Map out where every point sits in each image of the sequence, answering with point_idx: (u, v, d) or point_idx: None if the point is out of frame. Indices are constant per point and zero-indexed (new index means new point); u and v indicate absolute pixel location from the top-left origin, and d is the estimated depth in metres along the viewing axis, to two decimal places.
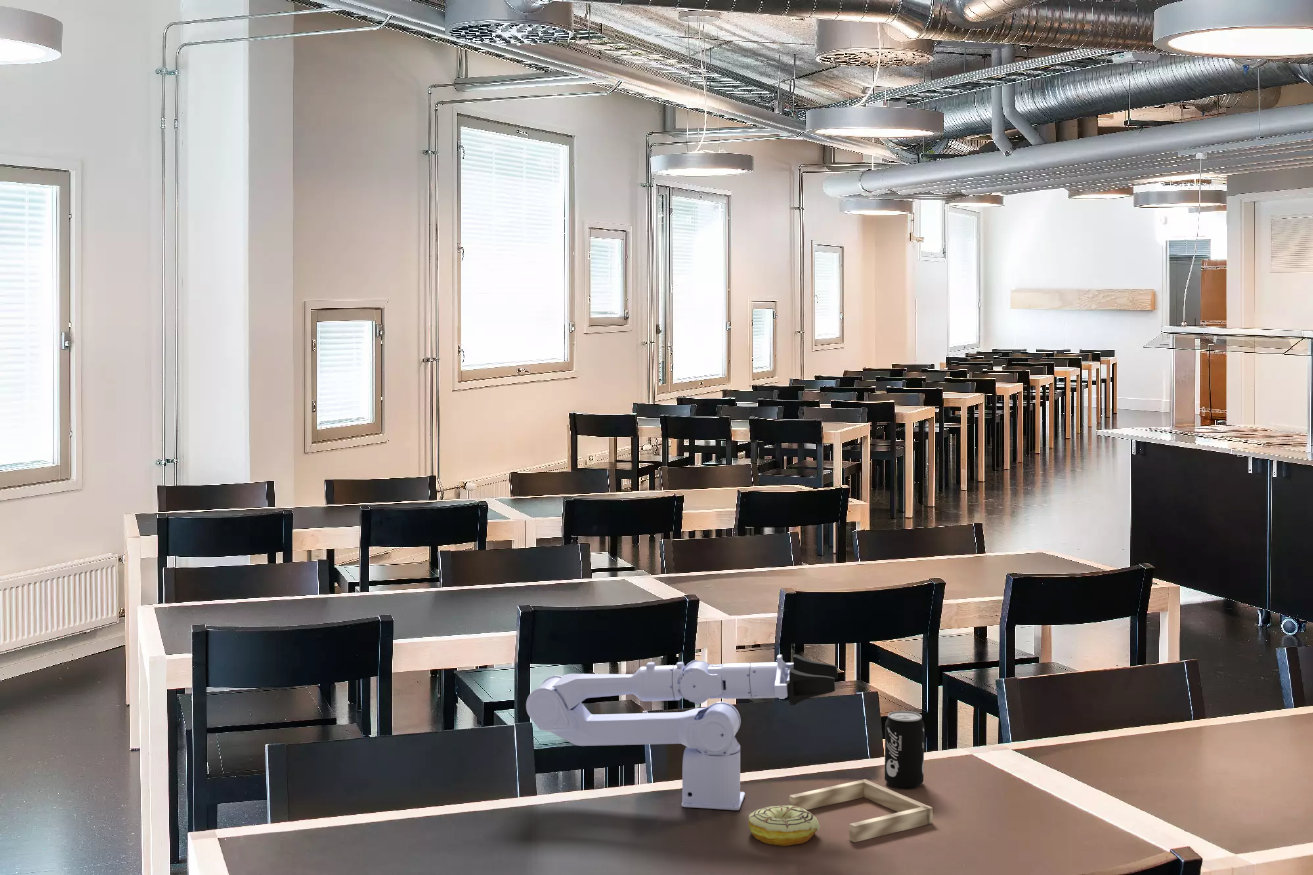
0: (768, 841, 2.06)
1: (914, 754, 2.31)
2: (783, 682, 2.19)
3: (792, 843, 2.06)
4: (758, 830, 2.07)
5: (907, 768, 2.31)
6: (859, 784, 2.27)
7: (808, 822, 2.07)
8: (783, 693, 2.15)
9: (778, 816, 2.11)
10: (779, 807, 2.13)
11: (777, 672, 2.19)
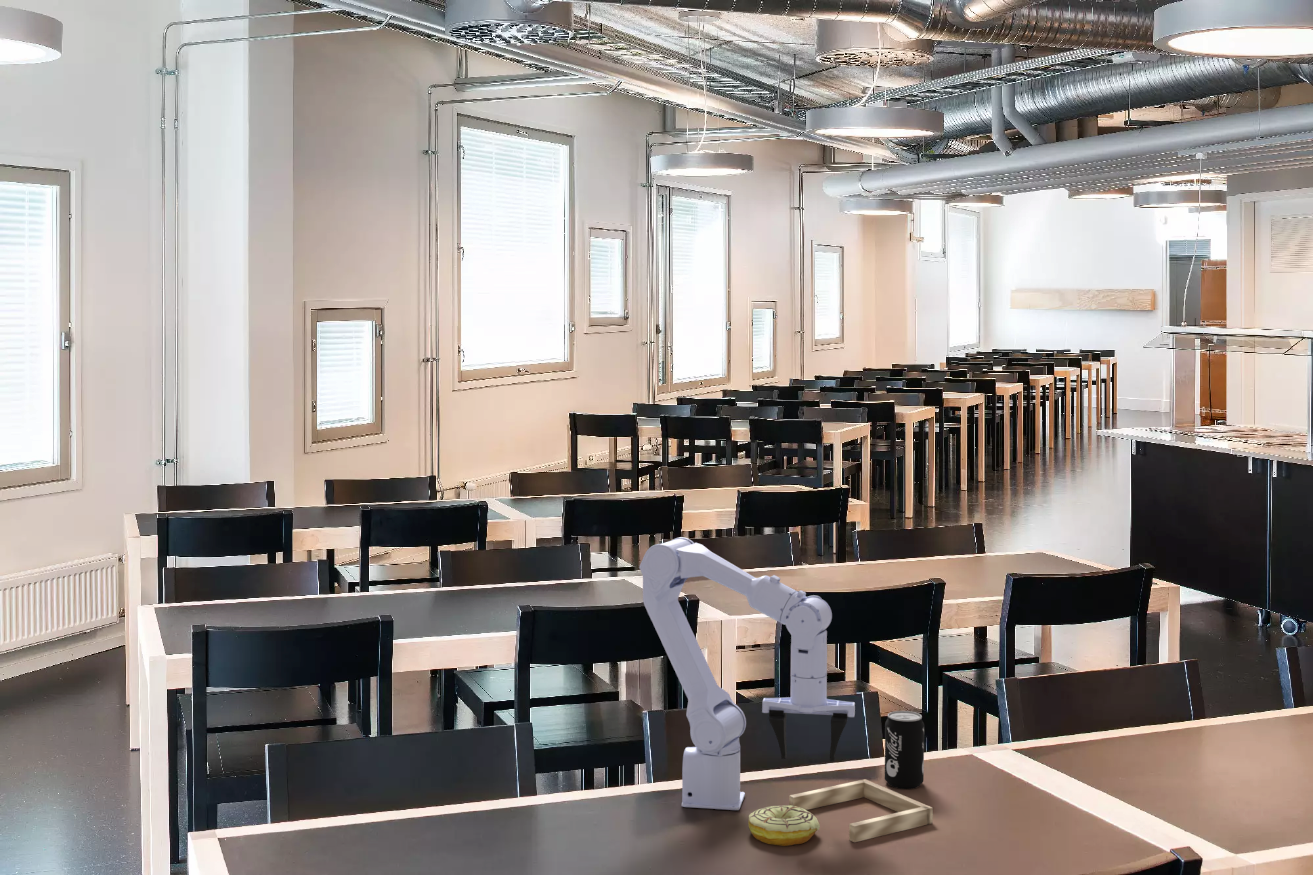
0: (768, 841, 2.06)
1: (914, 754, 2.31)
2: None
3: (792, 843, 2.06)
4: (758, 830, 2.07)
5: (907, 768, 2.31)
6: (859, 784, 2.27)
7: (808, 822, 2.07)
8: None
9: (778, 816, 2.11)
10: (779, 807, 2.13)
11: (786, 705, 2.16)
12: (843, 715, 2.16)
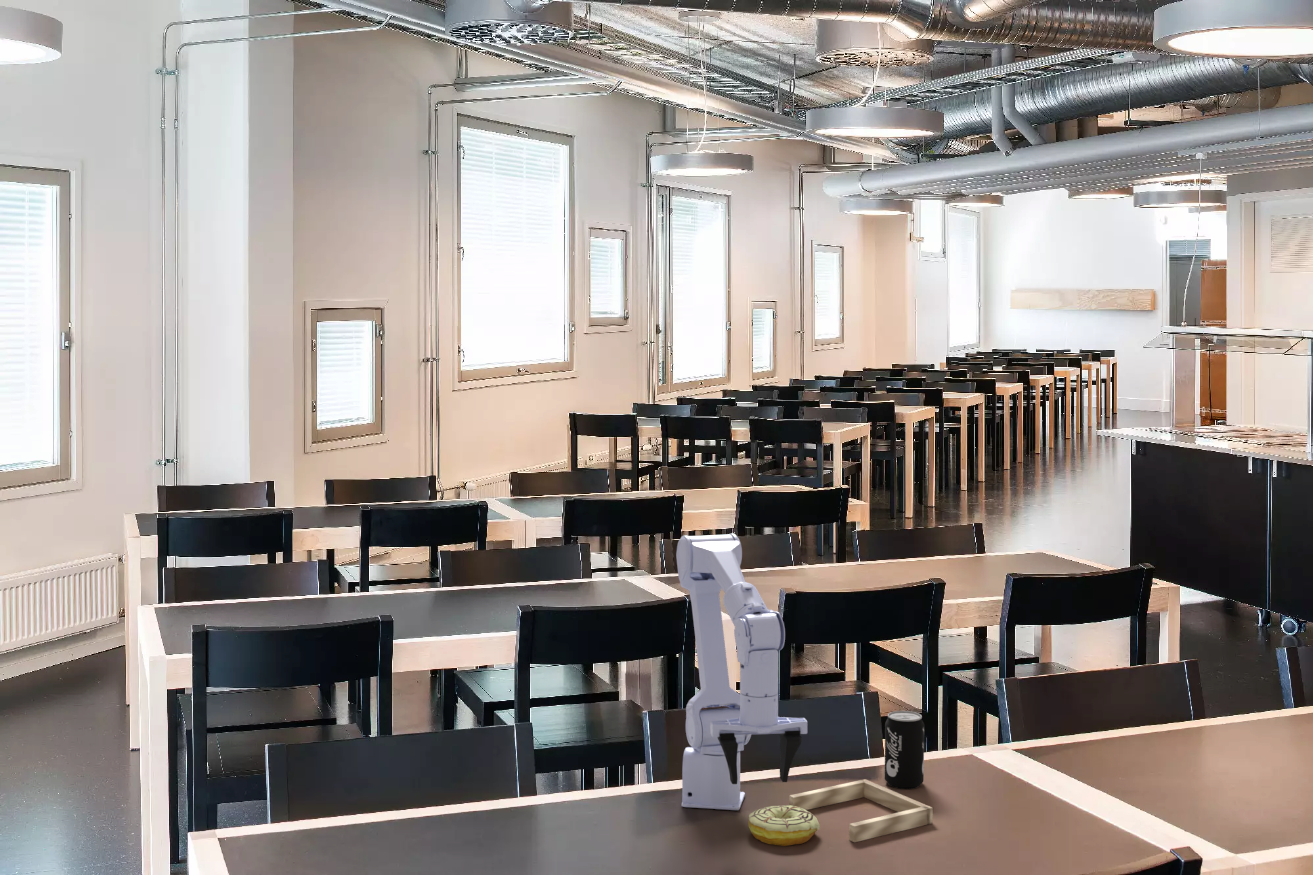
0: (768, 841, 2.06)
1: (914, 754, 2.31)
2: None
3: (792, 843, 2.06)
4: (758, 830, 2.07)
5: (907, 768, 2.31)
6: (859, 784, 2.27)
7: (808, 822, 2.07)
8: (711, 731, 2.06)
9: (778, 816, 2.11)
10: (779, 807, 2.13)
11: (740, 727, 2.04)
12: (796, 732, 2.06)
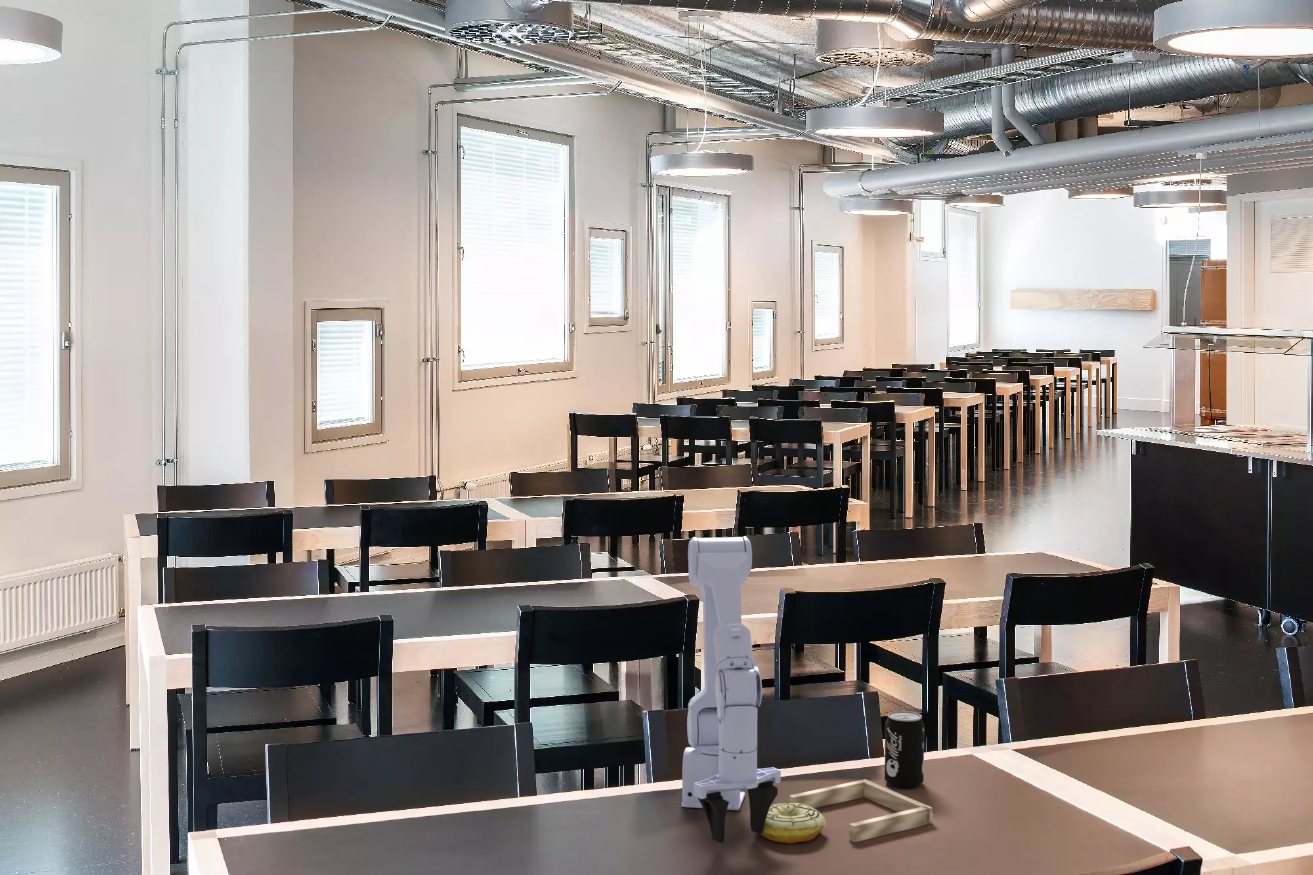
0: (774, 838, 2.07)
1: (914, 754, 2.31)
2: None
3: (798, 840, 2.06)
4: (764, 827, 2.07)
5: (907, 768, 2.31)
6: (859, 784, 2.27)
7: (814, 819, 2.08)
8: (695, 793, 2.02)
9: (784, 813, 2.12)
10: (786, 804, 2.14)
11: (727, 785, 2.02)
12: (771, 783, 2.07)
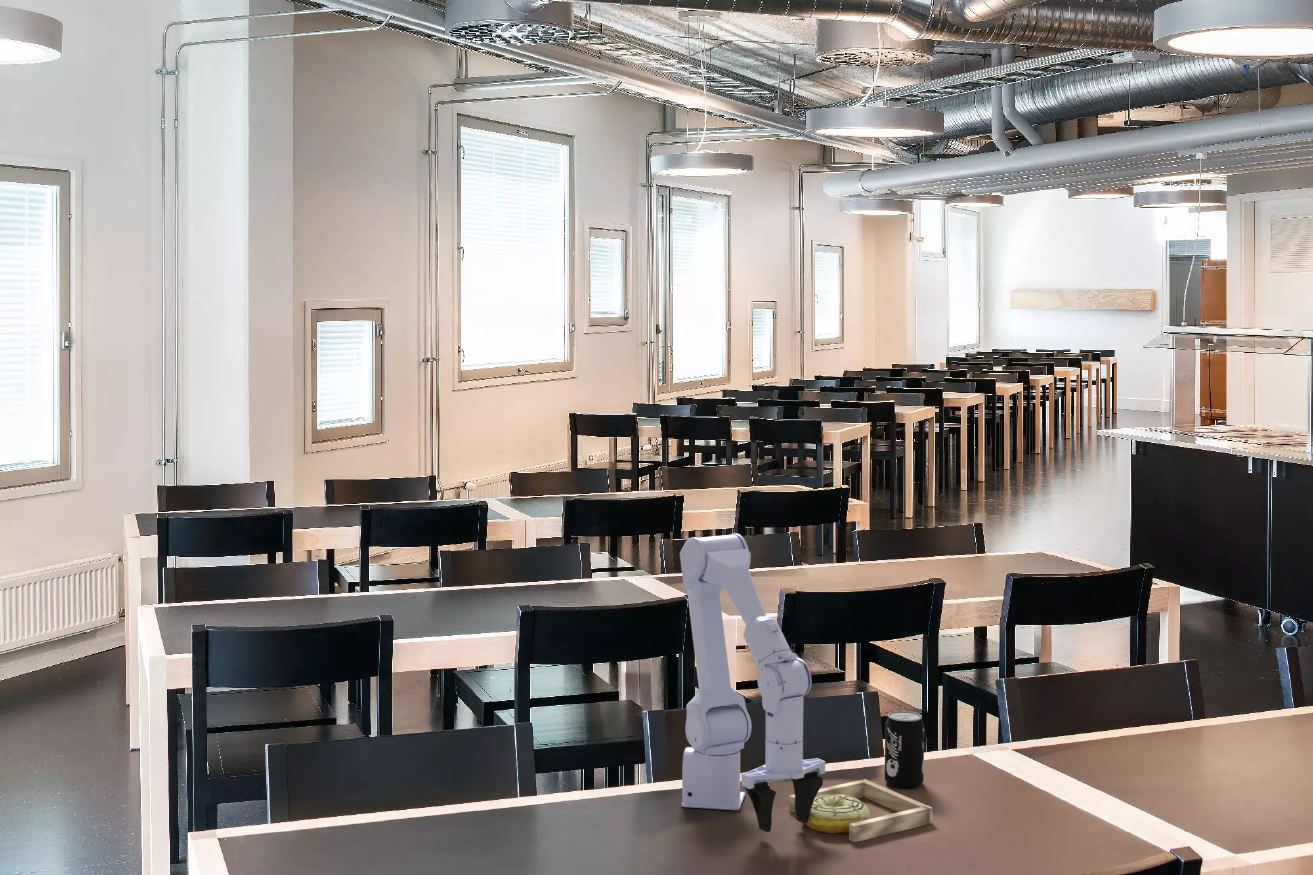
0: (817, 828, 2.11)
1: (914, 754, 2.31)
2: None
3: (840, 831, 2.10)
4: None
5: (907, 768, 2.31)
6: (859, 784, 2.27)
7: (857, 811, 2.12)
8: (743, 783, 2.06)
9: (830, 804, 2.16)
10: (832, 796, 2.18)
11: (774, 775, 2.06)
12: (816, 773, 2.12)
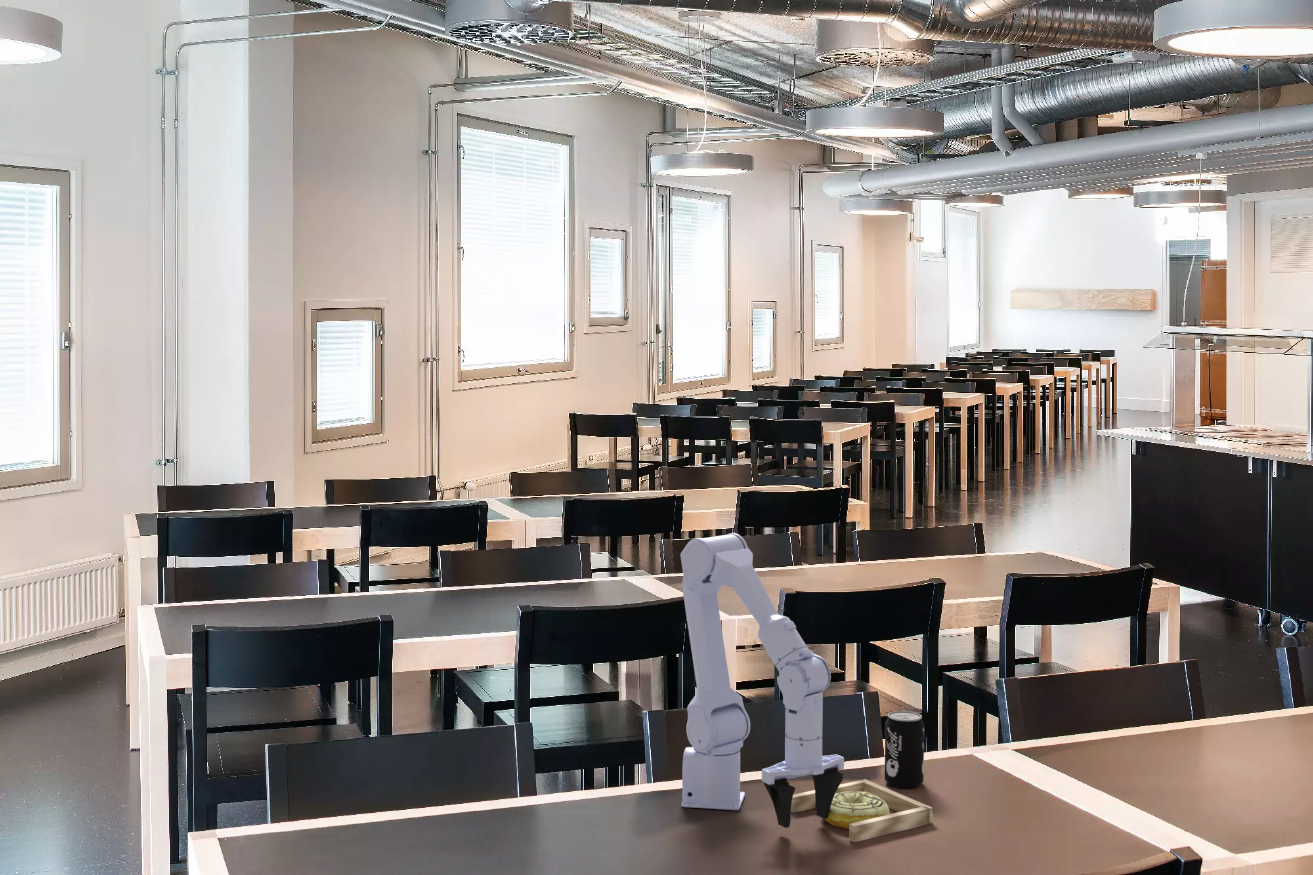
0: (835, 824, 2.14)
1: (914, 754, 2.31)
2: None
3: None
4: None
5: (907, 768, 2.31)
6: (859, 784, 2.27)
7: (876, 808, 2.13)
8: (764, 779, 2.08)
9: (850, 801, 2.18)
10: (853, 792, 2.20)
11: (794, 771, 2.08)
12: (835, 769, 2.14)
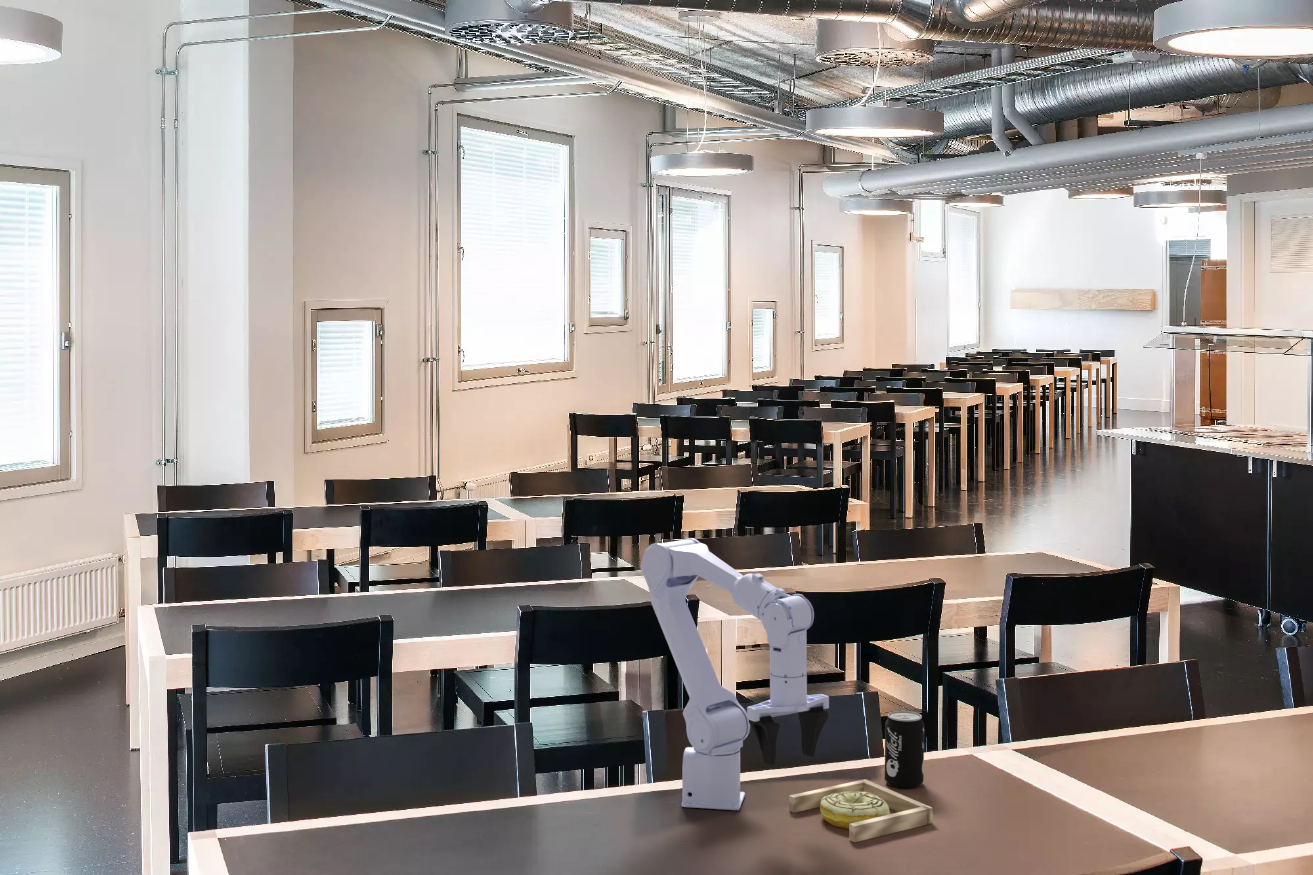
0: (835, 823, 2.14)
1: (914, 754, 2.31)
2: None
3: None
4: (826, 812, 2.15)
5: (907, 768, 2.31)
6: (859, 784, 2.27)
7: (876, 808, 2.13)
8: (749, 716, 2.10)
9: (851, 801, 2.18)
10: (853, 793, 2.20)
11: (779, 708, 2.10)
12: (820, 708, 2.16)
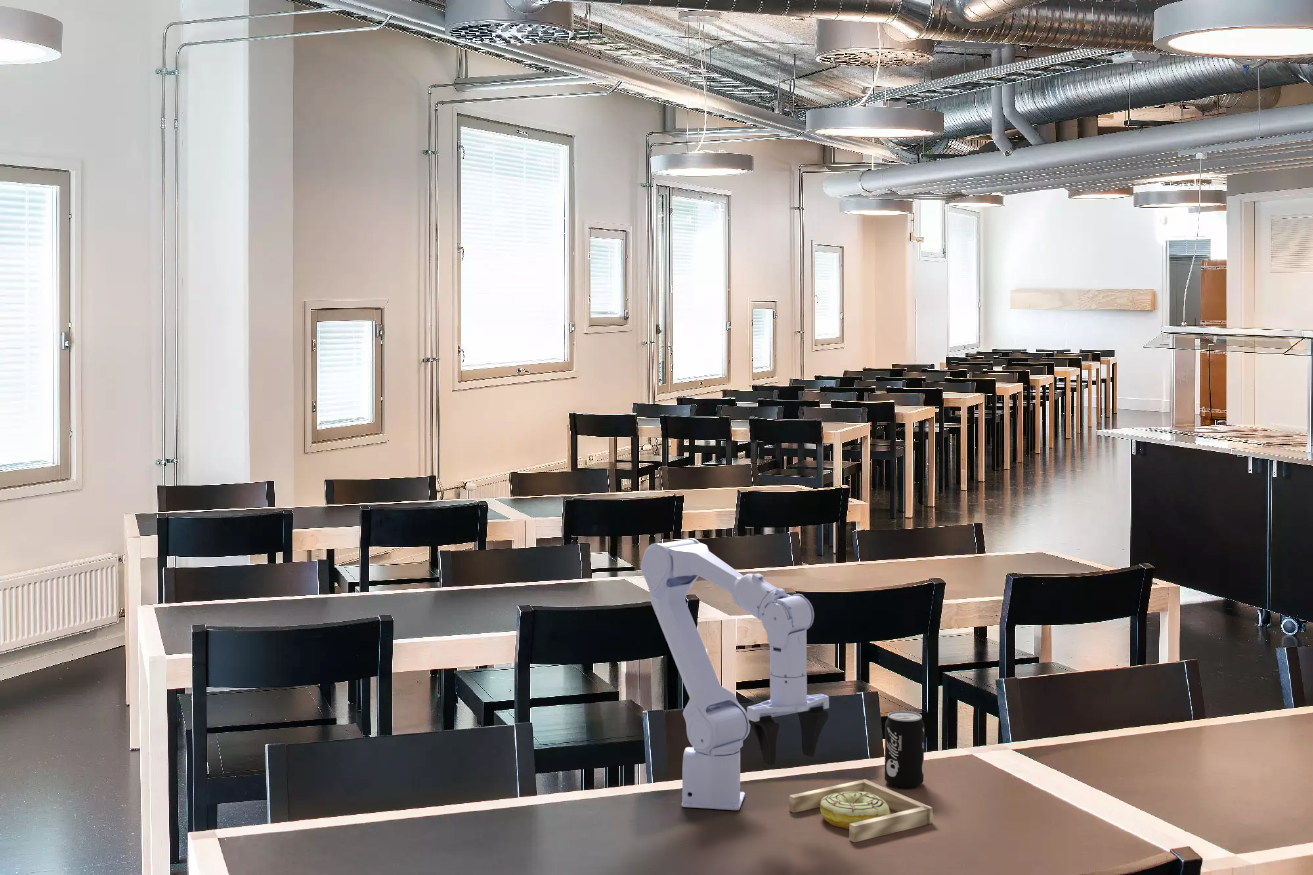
0: (835, 824, 2.14)
1: (914, 754, 2.31)
2: None
3: None
4: (826, 812, 2.15)
5: (907, 768, 2.31)
6: (859, 784, 2.27)
7: (876, 808, 2.13)
8: (749, 716, 2.10)
9: (851, 801, 2.18)
10: (853, 793, 2.20)
11: (779, 708, 2.10)
12: (820, 708, 2.16)
